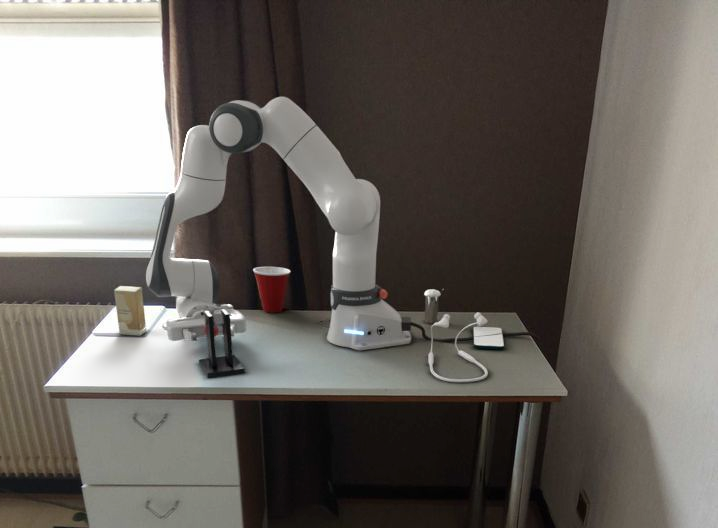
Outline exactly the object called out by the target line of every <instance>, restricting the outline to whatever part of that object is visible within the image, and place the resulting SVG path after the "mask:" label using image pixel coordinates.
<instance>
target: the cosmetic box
mask: <svg viewBox="0 0 718 528" xmlns="http://www.w3.org/2000/svg"><path fill="white" fill-rule="evenodd" d="M113 293H114V300H115V308H116V316H117V317H116V318H117V325H118V331H119V335H125V336H126V335H127V336H138V337H141V336H142V335H144V334H145V333H147V323H146V316H145V306H144V297H143V296H144V295H143V287H142V286H141V287H140V286H130V285H129V286H128V285H127V286H126V285H119V286H118V287H116V288H115V289H114V290H113ZM145 327H146V328H145ZM144 328H145V329H144ZM143 329H144V330H143ZM142 330H143V331H142Z"/></svg>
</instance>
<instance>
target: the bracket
mask: <svg viewBox="0 0 718 528" xmlns="http://www.w3.org/2000/svg"><path fill="white" fill-rule="evenodd" d="M204 313H205V319H204V322H205V325H206V335H207V337H206V343H207V352H208V353H207V355H208V357H206V358H198V365H199V366H200V368H201V369H202V371H203V373H204V374H205V376H206V377H207V379H211V378H212V379H213V378H219V377H225V376H232V375H240V374H245V373H246V371H245V367H244V366H243V365H242V363H241V362H240V360H239V359H238V358H237V357H236V355H235V354H234V353H233V341H232V337H231V327H230V321H231V319H230V314H229V313H228V312H227V311H226V310H225V309H221V313H222V316H223V321H224V324H223V325H222V328H223V335H222V338H223V340H222V341H223V351H224V352H223V353H224V355H222V356H217V351H216V340H215V337H214V327H213V316H212V315H211V314H210V312H209V311H204Z"/></svg>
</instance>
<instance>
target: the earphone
mask: <svg viewBox="0 0 718 528" xmlns="http://www.w3.org/2000/svg"><path fill="white" fill-rule="evenodd" d="M473 316H474V319H475V320H476V322H473V323H470V324H468V325H466V326H464V327H463V328H462V329H461V330H460V331H459V332H458V333H457V335H456V337H455V338H456V340H455V341H454V346H455V349H456V351H457V353H458V354H457V355H458V356H459V357H462V358H463V359H465V360H466V361H468V362H469V363H472V364H475V365H477V366H478V367H479V368H481V370H483V372H484V374H483V375H482V376H479V377H474V378H466V379H465V378H464V379H463V378H462V379H461V378H460V379H456V378H447V377H445V376H442V375H439V374H437V373H436V372H435V371H434V366H433V365H434V355H435V354H434V353H433V345H434V341H433V339H434V334H433V328H434V327H441V328H444V329H448V328H449V326H450V319H451V315H450V314H448V313H445V314H444V315H442V318H441V319H440V320H439V321H437V322H436V323H433V324H431V326H430V335H431V338H432V341H431V345H430V352H428V356H427V360H428V361H427V363H428V365H429V370H430V373H431V374H432V375H433V376H434V377H435V378H436V379H438V380H440V381H444V382H449V383H462V384H463V383H474V382H479V381H482V380H484V379H486V378H487V377H488V375H489V372H488V368H486V366H484V365H483V364H482V363H480V362H479V361H477V359H475V357H473V356H472V355H470V354H469V353H467V352H466V351H464V350H459V348H458V346H457V342H458V341H457V338H459V336H460V335H461V333H462V332H463V331H464V330H466V329H467V328H469V327H471V326H474V325H477V327H484V325H486V324H488V319H487V318H486V317H485V316H484V315H482V313H481V312H479V311H478V312H476V313H475V314H474V315H473Z"/></svg>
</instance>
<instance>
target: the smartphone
mask: <svg viewBox="0 0 718 528" xmlns="http://www.w3.org/2000/svg"><path fill="white" fill-rule="evenodd" d="M500 333H503V329H502V327H496V326H495V327H493V326H492V327H491V326H473V327H472V337H474V338H473V340H472V342H473V347H474V348H475V349H489V350H504V349H505V341H504V336H503V334H500ZM493 334H498V335H493ZM485 335H490V336H485ZM476 336H479V337H476Z"/></svg>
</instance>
